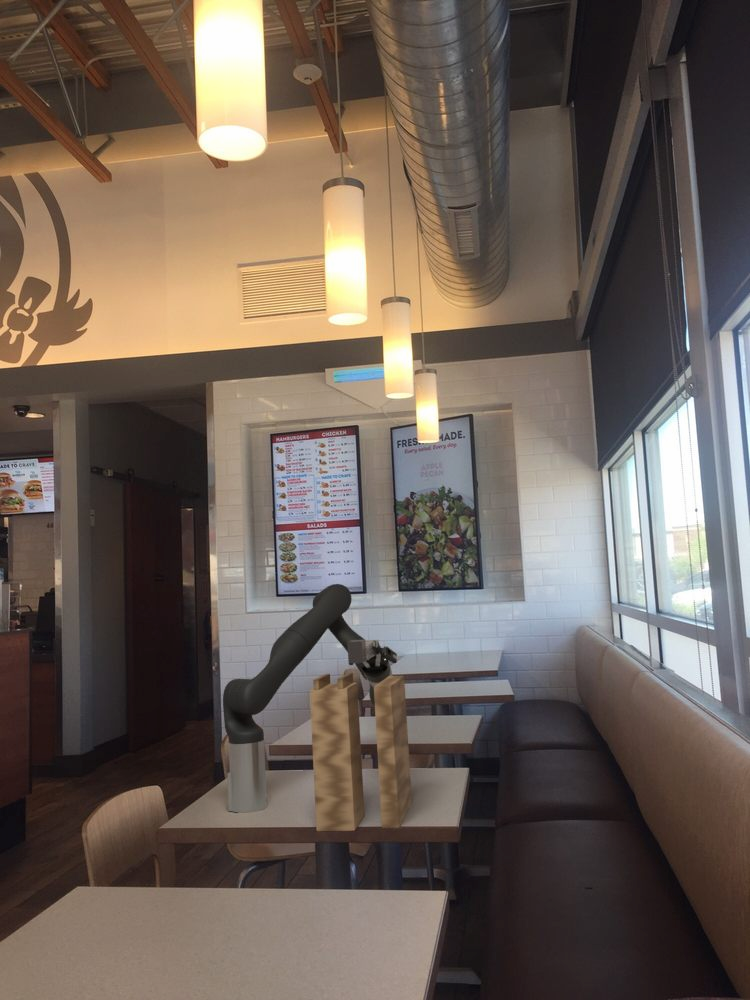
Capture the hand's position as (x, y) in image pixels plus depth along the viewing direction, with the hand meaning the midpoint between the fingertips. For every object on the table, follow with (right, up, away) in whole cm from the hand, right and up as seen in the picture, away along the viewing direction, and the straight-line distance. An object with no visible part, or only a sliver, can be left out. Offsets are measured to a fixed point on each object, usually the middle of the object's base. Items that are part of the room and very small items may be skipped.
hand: (366, 644), depth 219 cm
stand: (0, -39, -17) cm, 42 cm away
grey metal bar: (0, -3, -3) cm, 4 cm away
